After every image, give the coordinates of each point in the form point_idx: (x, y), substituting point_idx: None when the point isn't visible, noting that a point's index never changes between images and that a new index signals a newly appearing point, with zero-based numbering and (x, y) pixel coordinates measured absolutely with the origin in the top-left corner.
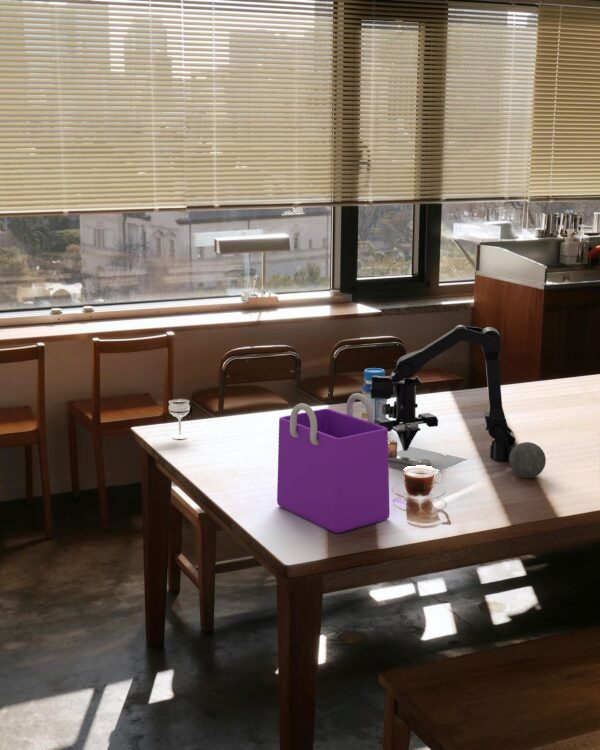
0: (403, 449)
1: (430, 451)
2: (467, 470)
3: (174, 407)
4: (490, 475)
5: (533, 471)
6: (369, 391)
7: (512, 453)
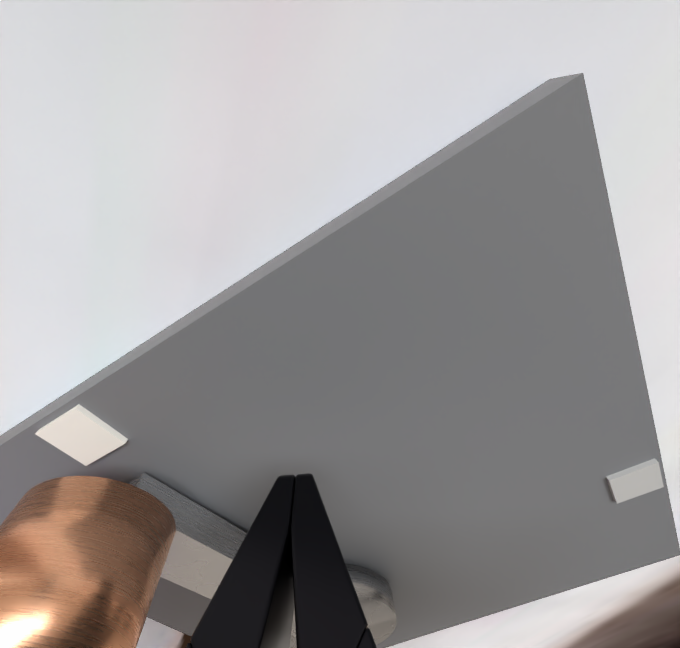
0: (276, 490)
1: (625, 369)
2: (548, 603)
3: None
4: (580, 643)
5: None
6: None
7: None
